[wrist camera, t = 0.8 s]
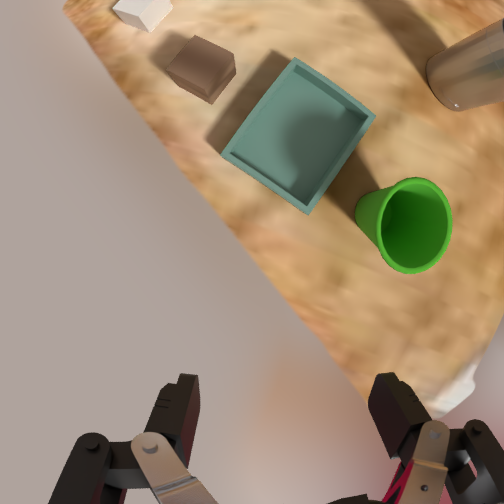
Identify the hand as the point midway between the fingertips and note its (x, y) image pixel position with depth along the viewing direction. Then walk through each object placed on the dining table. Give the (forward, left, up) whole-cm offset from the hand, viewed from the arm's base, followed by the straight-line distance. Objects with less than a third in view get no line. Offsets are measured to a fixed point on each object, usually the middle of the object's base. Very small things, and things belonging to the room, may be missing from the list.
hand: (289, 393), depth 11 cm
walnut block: (-14, -18, -24) cm, 33 cm away
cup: (-12, +8, -24) cm, 28 cm away
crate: (-14, -5, -24) cm, 28 cm away
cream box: (-19, -32, -24) cm, 44 cm away
